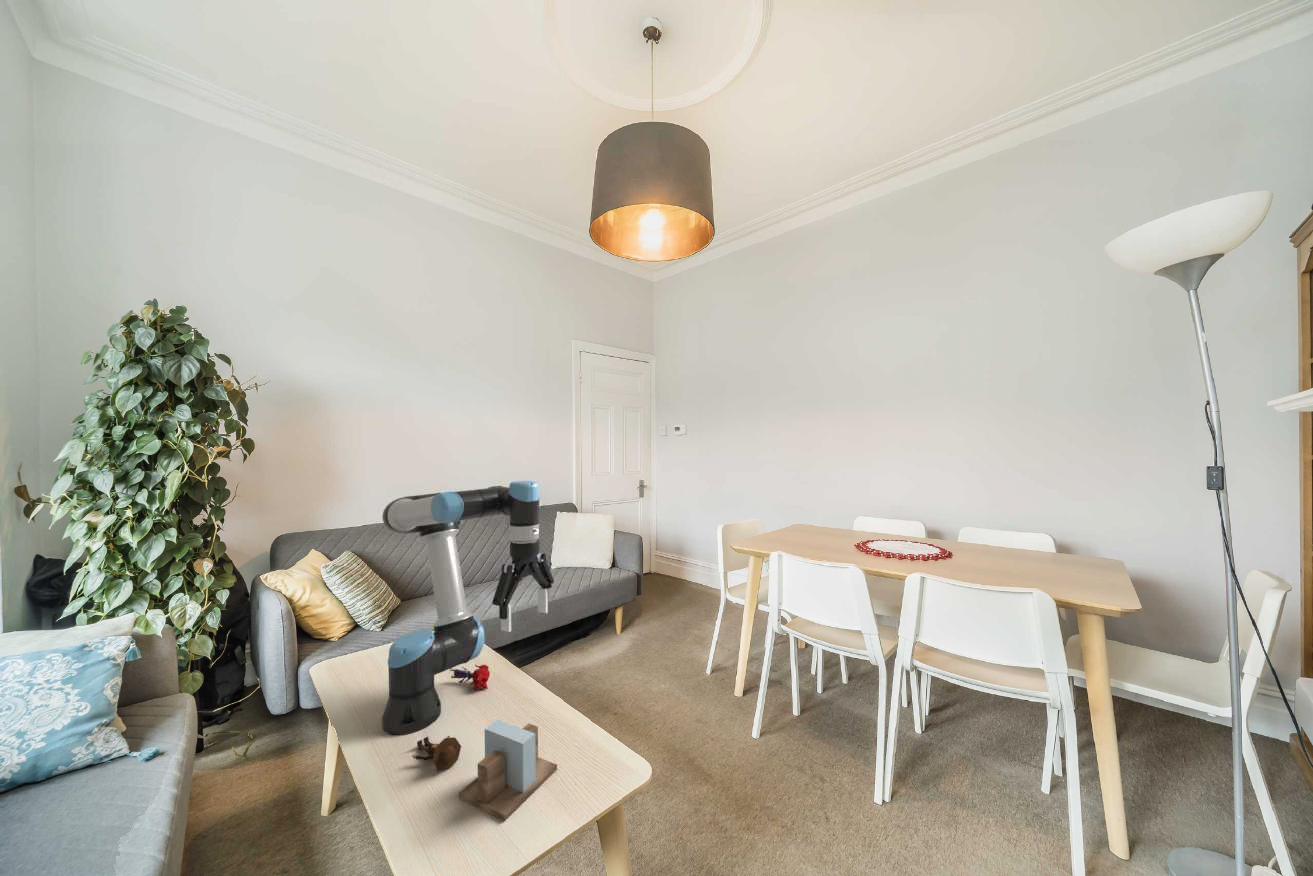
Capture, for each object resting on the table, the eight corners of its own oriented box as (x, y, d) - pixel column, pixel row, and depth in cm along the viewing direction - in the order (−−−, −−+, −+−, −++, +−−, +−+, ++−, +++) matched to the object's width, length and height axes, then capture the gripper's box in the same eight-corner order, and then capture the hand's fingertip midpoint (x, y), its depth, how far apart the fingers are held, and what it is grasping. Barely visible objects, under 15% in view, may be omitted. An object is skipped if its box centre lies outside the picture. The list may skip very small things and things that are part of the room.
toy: (439, 721, 126) (467, 729, 117) (442, 750, 125) (471, 760, 116) (402, 739, 119) (429, 749, 110) (405, 770, 118) (433, 783, 109)
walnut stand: (458, 798, 105) (458, 757, 105) (514, 752, 120) (513, 716, 120) (504, 821, 98) (504, 777, 98) (557, 769, 113) (556, 731, 113)
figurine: (458, 674, 158) (499, 678, 155) (443, 693, 150) (486, 697, 147) (455, 658, 156) (496, 661, 154) (440, 676, 148) (483, 680, 146)
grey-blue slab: (485, 775, 110) (484, 728, 110) (497, 764, 113) (497, 719, 113) (523, 792, 104) (522, 744, 104) (535, 781, 108) (535, 733, 108)
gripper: (499, 552, 109) (499, 642, 109) (566, 532, 131) (566, 607, 132) (476, 549, 113) (477, 636, 113) (545, 530, 135) (546, 603, 135)
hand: (525, 621), depth 122 cm, fingers open, 13 cm apart
